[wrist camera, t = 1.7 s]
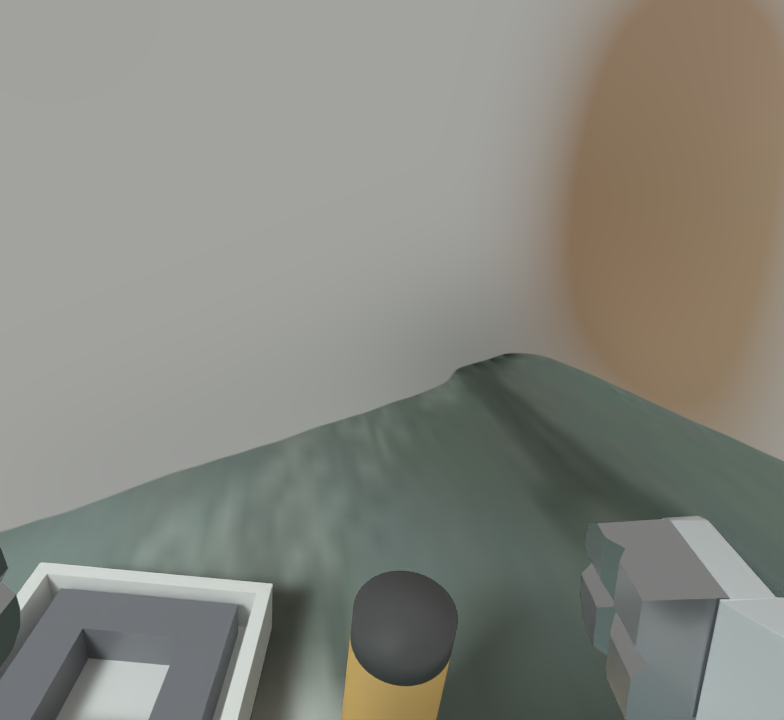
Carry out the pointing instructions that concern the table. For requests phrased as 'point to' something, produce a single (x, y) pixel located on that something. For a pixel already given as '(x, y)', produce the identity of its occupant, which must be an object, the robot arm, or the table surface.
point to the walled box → (135, 646)
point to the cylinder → (399, 648)
